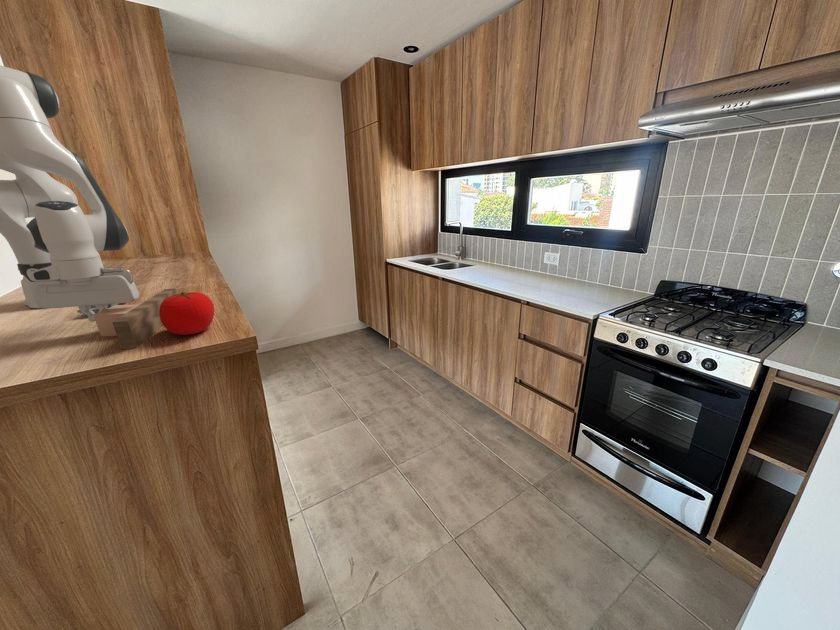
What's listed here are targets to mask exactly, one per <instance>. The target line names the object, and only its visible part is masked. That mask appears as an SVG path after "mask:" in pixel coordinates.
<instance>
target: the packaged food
mask: <svg viewBox="0 0 840 630" xmlns="http://www.w3.org/2000/svg"><path fill="white" fill-rule="evenodd" d="M115 305H126V303H117V304H107V309H108V308H110V307H113V306H115ZM89 309H91V310H92V311H93V312H94V314H95V313H98V312H99V309H97V308H96V306H95V305H91V307H90V308H89ZM76 313H78V314H84V313H83V312H81V311H80V309H77V310H76Z"/></svg>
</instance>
